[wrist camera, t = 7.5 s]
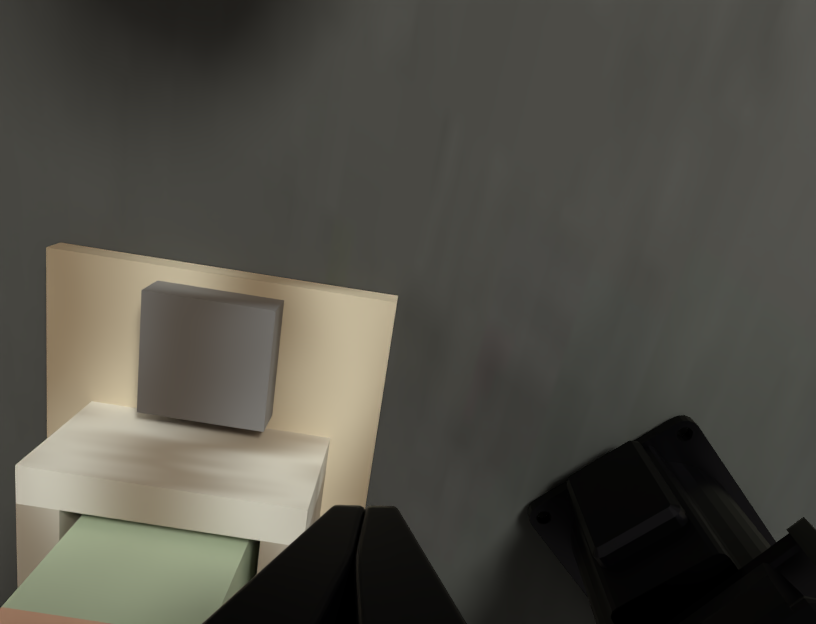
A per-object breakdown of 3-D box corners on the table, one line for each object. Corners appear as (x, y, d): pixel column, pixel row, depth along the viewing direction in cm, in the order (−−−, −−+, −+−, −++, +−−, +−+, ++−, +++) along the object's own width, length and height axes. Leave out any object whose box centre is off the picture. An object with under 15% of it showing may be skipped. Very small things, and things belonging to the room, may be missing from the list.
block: (272, 487, 21) (192, 672, 14) (259, 607, 23) (180, 831, 16) (126, 464, 21) (-28, 640, 14) (122, 586, 23) (-20, 802, 16)
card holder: (398, 295, 21) (388, 347, 16) (331, 723, 26) (309, 857, 22) (60, 242, 21) (-49, 279, 16) (59, 682, 26) (-24, 808, 21)
